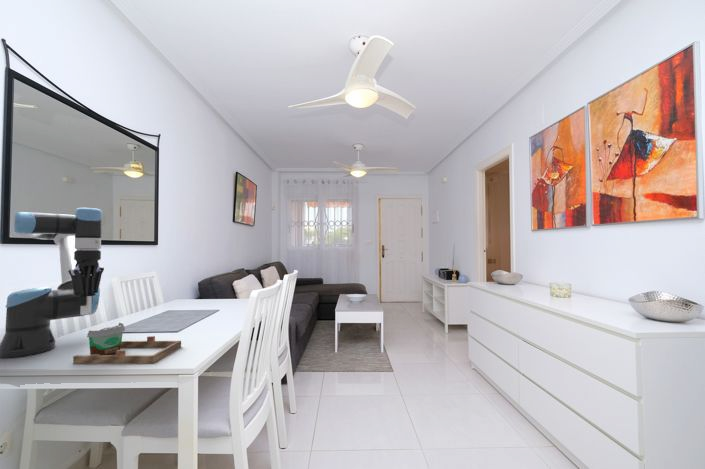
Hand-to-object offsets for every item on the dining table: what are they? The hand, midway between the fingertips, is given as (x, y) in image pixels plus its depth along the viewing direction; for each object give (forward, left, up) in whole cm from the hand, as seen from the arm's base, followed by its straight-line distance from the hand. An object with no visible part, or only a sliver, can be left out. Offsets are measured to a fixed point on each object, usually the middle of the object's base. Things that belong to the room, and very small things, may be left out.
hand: (85, 314), depth 112 cm
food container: (+9, +4, -15) cm, 18 cm away
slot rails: (+15, +6, -15) cm, 22 cm away
